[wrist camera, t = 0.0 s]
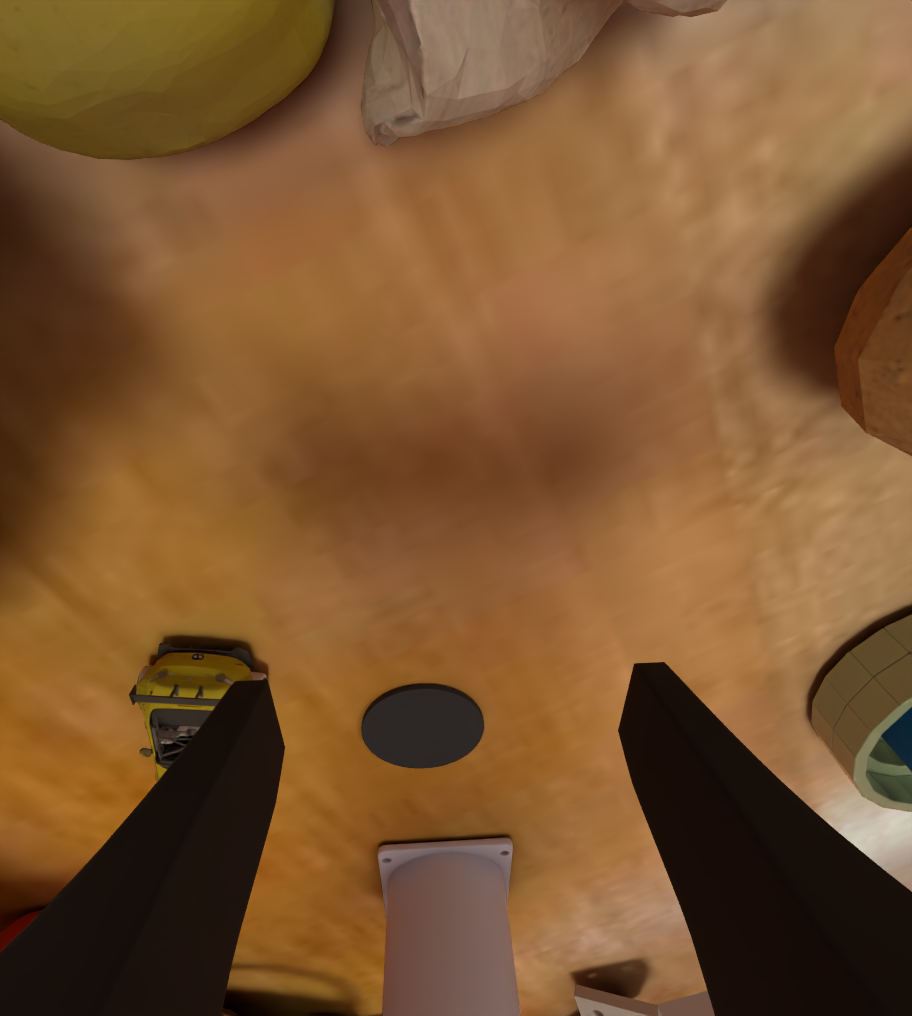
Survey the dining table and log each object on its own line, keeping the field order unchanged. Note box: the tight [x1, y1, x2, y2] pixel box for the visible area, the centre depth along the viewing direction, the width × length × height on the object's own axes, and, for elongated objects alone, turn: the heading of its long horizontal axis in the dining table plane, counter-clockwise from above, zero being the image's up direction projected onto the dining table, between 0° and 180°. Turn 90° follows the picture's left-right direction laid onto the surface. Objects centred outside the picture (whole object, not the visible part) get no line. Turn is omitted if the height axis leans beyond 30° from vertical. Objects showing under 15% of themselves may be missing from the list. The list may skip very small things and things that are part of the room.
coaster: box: [362, 684, 484, 768], centre depth 26 cm, size 6×6×1 cm
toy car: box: [129, 643, 267, 782], centre depth 24 cm, size 5×10×3 cm, turn 170°
